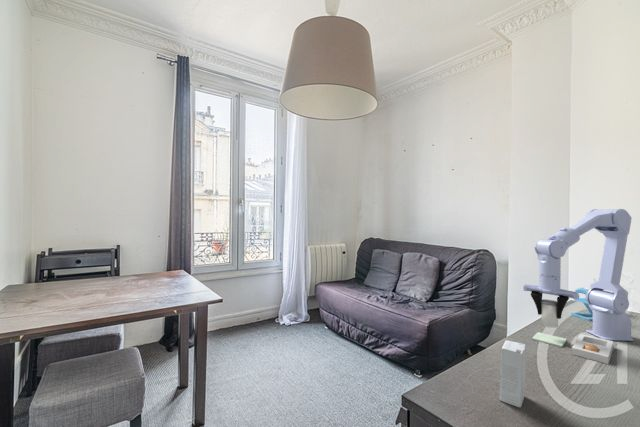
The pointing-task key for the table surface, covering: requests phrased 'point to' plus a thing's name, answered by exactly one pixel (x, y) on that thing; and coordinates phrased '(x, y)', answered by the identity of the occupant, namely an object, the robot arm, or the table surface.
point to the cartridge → (549, 313)
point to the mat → (549, 339)
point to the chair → (584, 300)
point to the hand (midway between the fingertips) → (549, 316)
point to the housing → (601, 355)
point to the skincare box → (513, 373)
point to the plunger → (591, 347)
